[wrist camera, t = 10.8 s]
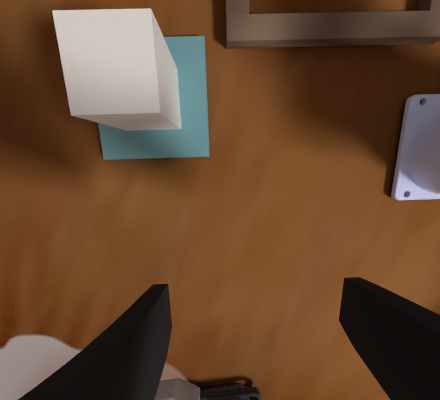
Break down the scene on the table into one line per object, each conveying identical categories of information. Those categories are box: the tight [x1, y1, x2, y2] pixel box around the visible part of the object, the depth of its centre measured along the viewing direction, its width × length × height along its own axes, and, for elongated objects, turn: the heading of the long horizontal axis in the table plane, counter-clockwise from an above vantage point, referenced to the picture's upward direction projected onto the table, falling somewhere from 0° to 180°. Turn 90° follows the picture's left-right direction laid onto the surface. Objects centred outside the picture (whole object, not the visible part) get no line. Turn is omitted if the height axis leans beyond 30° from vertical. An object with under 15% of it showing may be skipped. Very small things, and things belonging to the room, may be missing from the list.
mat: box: [98, 36, 209, 160], centre depth 15 cm, size 8×8×1 cm
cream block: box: [52, 9, 181, 131], centre depth 12 cm, size 4×4×6 cm
